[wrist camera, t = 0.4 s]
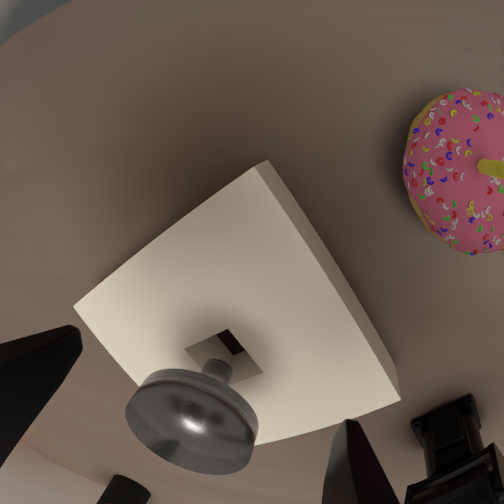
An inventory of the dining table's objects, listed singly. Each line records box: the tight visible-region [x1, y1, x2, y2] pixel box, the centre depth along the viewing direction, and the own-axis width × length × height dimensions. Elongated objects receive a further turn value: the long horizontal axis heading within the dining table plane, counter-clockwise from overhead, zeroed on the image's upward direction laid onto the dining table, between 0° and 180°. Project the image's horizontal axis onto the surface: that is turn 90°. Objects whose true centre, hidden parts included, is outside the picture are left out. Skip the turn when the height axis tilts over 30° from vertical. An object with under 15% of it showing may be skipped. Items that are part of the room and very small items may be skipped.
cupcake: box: [403, 88, 504, 255], centre depth 11 cm, size 9×8×12 cm
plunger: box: [125, 359, 259, 475], centre depth 17 cm, size 7×7×6 cm
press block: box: [73, 160, 401, 445], centre depth 23 cm, size 18×18×4 cm
